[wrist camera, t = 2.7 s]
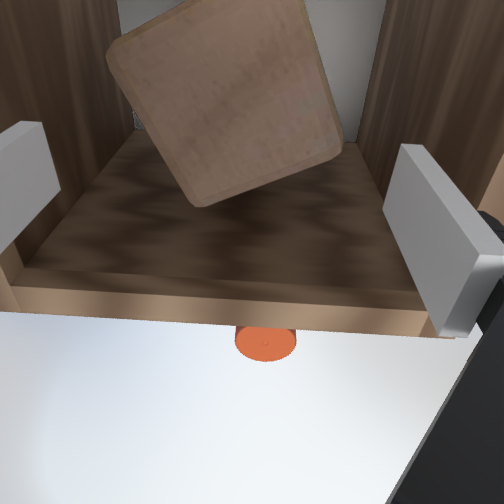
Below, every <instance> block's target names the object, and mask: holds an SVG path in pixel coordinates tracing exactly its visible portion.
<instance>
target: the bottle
mask: <svg viewBox="0 0 504 504" xmlns="http://www.w3.org/2000/svg"><path fill="white" fill-rule="evenodd" d="M235 345H236V346H237V348H238V349H239V351H240V352H241V353H242V354H243V355H245V356H246V357H248V358H251V359H253V360H256V361H263V362H267V361H275V360H279V359H282V358H284V357H286V356H287V355H289V354H290V353H291V352H292V351H293V349H294V348H295V346H296V329H280V328H264V327H247V326H236V333H235Z"/></svg>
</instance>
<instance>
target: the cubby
mask: <svg viewBox="0 0 504 504" xmlns="http://www.w3.org/2000/svg"><path fill="white" fill-rule="evenodd" d="M119 37H121V29H120V22H119V15H118V8H117V1H116V0H0V134H1V133H2V132H4V131H5V130H7V129H9V128H10V127H12V126H13V125H15V124H17V123H18V122H20V121H32V122H42V125H43V129H44V132H45V136H46V139H47V143H48V146H49V150H50V153H51V157H52V160H53V164H54V167H55V171H56V174H57V178H58V181H59V185H60V188H61V190H60V191H59V192H58V193H57V194H56V195H55V196H54V197H53V199H52V200H51V201H50V202H49V203H48V204H47V205H46V206H45V207H44V208H43V209H42V210H41V211H40V212H39V213H38V214H37V216H36V217H35V218H34V219H33V220H32V221H31V222H30V223H29V224H28V225H27V226H26V227H25V228H24V229H23V230H22V232H21V233H20V234H19V235H18V236H17V237H16V238H15V239H14V240H13V241H12V242H11V243H10V244H9V245H8V246H7V247H6V249H5V250H4V251H3V252H2V253H1V254H0V311H3V312H18V313H34V314H52V315H67V316H84V317H100V318H117V319H133V320H149V321H166V322H182V323H183V322H184V323H199V324H216V325H231V326H247V327H264V328H280V329H297V330H313V331H314V330H315V331H329V332H346V333H363V334H379V335H396V336H411V337H412V336H413V337H428V338H445V339H455V337H443V336H438V334H437V332H436V330H435V328H434V325H433V323H432V321H431V319H430V316H429V314H428V312H427V309H426V307H425V305H424V303H423V300H422V298H421V296H420V294H419V291H418V289H417V287H416V285H415V282H414V280H413V278H412V276H411V273H410V271H409V269H408V267H407V264H406V262H405V260H404V257H403V255H402V253H401V251H400V248H399V246H398V244H397V242H396V239H395V237H394V235H393V233H392V230H391V228H390V226H389V224H388V221H387V219H386V217H385V215H384V212H383V210H382V208H383V205H384V201H385V198H386V194H387V191H388V187H389V184H390V180H391V177H392V174H393V170H394V167H395V163H396V160H397V156H398V153H399V149H400V146H401V144H416V145H423V146H424V148H425V149H426V150H427V151H428V152H429V154H430V155H431V156H432V157H433V159H434V160H435V161H436V162H437V163H438V165H439V166H440V167H441V168H442V170H443V171H444V172H445V173H446V174H447V176H448V177H449V178H450V179H451V180H452V182H453V183H454V184H455V185H456V187H457V188H458V189H459V190H460V191H461V193H462V194H463V195H464V196H465V198H466V199H467V200H468V201H469V202H470V204H471V205H472V206H473V207H474V209H475V210H479V211H485V212H486V213H488V214H489V215H491V216H493V217H494V218H496V219H497V220H499V221H500V223H501V224H502V225H503V226H504V0H387V2H386V7H385V11H384V16H383V20H382V25H381V30H380V34H379V39H378V44H377V48H376V53H375V58H374V62H373V67H372V71H371V76H370V81H369V85H368V90H367V95H366V99H365V104H364V109H363V113H362V118H361V122H360V127H359V132H358V136H357V141H356V143H351V142H343V149H342V151H341V153H340V154H338V155H337V156H335V157H334V158H333V159H331V160H328V161H326V162H323V163H320V164H318V165H315V166H312V167H310V168H307V169H304V170H302V171H299V172H296V173H294V174H291V175H288V176H286V177H283V178H280V179H278V180H275V181H272V182H270V183H267V184H264V185H262V186H259V187H256V188H254V189H251V190H248V191H246V192H243V193H240V194H238V195H235V196H232V197H230V198H227V199H224V200H222V201H219V202H216V203H214V204H211V205H208V206H206V207H195V206H194V205H193V204H192V203H190V202H189V200H188V199H187V197H186V195H185V194H184V192H183V190H182V189H181V187H180V185H179V184H178V182H177V181H176V179H175V177H174V176H173V174H172V172H171V171H170V169H169V167H168V166H167V164H166V162H165V161H164V159H163V157H162V156H161V154H160V152H159V151H158V149H157V147H156V146H155V144H154V143H153V141H152V139H151V138H150V136H149V134H148V133H147V131H146V130H135V128H134V121H133V114H132V107H131V105H130V103H129V101H128V100H127V98H126V96H125V95H124V93H123V91H122V90H121V88H120V86H119V85H118V83H117V81H116V80H115V78H114V76H113V75H112V73H111V71H110V69H109V66H108V63H107V59H106V52H107V50H108V49H109V47H110V46H111V44H112V43H113V41H114V40H116V39H117V38H119Z"/></svg>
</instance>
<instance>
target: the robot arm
mask: <svg viewBox="0 0 504 504" xmlns="http://www.w3.org/2000/svg"><path fill="white" fill-rule="evenodd" d="M60 190H61V188H60V185H59V181H58V178H57V174H56V171H55V167H54V164H53V160H52V157H51V153H50V150H49V146H48V143H47V139H46V136H45V132H44V129H43V125H42V122H32V121H20V122H18V123H17V124H15V125H13V126H12V127H10V128H9V129H7V130H5V131H4V132H2V133H1V134H0V254H1V253H2V252H3V251H4V250H5V249H6V247H7V246H8V245H9V244H10V243H11V242H12V241H13V240H14V239H15V238H16V237H17V236H18V235H19V234H20V233H21V232H22V230H23V229H24V228H25V227H26V226H27V225H28V224H29V223H30V222H31V221H32V220H33V219H34V218H35V217H36V216H37V214H38V213H39V212H40V211H41V210H42V209H43V208H44V207H45V206H46V205H47V204H48V203H49V202H50V201H51V200H52V199H53V197H54V196H55V195H56V194H57V193H58V192H59V191H60ZM382 210H383V212H384V215H385V217H386V219H387V221H388V224H389V226H390V228H391V230H392V233H393V235H394V237H395V239H396V242H397V244H398V246H399V248H400V251H401V253H402V255H403V257H404V260H405V262H406V264H407V267H408V269H409V271H410V273H411V276H412V278H413V280H414V282H415V285H416V287H417V289H418V291H419V294H420V296H421V298H422V300H423V303H424V305H425V307H426V309H427V312H428V314H429V316H430V319H431V321H432V323H433V325H434V328H435V330H436V332H437V334H438V336H443V337H459V338H467V337H468V335H469V334H470V332H471V330H472V329H473V327H474V325H475V323H476V322H477V324H478V325H479V327H480V329H481V331H482V332H483V335H482V337H481V339H480V340H479V342H478V344H477V345H476V347H475V348H474V350H473V352H472V354H471V355H470V357H469V358H468V360H467V363H466V364H465V366H464V368H463V370H462V371H461V373H460V375H459V377H458V378H457V380H456V382H455V383H454V385H453V387H452V389H451V390H450V392H449V394H448V396H447V398H446V399H445V401H444V403H443V404H442V406H441V408H440V410H439V411H438V413H437V415H436V416H435V418H434V420H433V422H432V423H431V425H430V427H429V429H428V430H427V432H426V434H425V436H424V437H423V439H422V441H421V442H420V444H419V446H418V448H417V449H416V451H415V453H414V455H413V456H412V458H411V460H410V462H409V463H408V465H407V467H406V468H405V470H404V472H403V474H402V475H401V477H400V479H399V481H398V482H397V484H396V486H395V488H394V489H393V491H392V493H391V494H390V496H389V498H388V500H387V502H386V503H385V504H504V226H503V225H502V224H501V223H500V221H499V220H497V219H496V218H494V217H493V216H491V215H489V214H488V213H486V212H485V211H479V210H475V209H474V207H473V206H472V205H471V204H470V202H469V201H468V200H467V199H466V198H465V196H464V195H463V194H462V193H461V191H460V190H459V189H458V188H457V187H456V185H455V184H454V183H453V182H452V180H451V179H450V178H449V177H448V176H447V174H446V173H445V172H444V171H443V170H442V168H441V167H440V166H439V165H438V163H437V162H436V161H435V160H434V159H433V157H432V156H431V155H430V154H429V152H428V151H427V150H426V149H425V148H424V146H423V145H416V144H401V146H400V149H399V153H398V156H397V160H396V163H395V167H394V170H393V174H392V177H391V180H390V184H389V187H388V191H387V194H386V198H385V201H384V205H383V208H382Z"/></svg>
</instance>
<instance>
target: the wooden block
mask: <svg viewBox="0 0 504 504" xmlns="http://www.w3.org/2000/svg"><path fill="white" fill-rule="evenodd" d="M106 59H107V63H108V66H109V69H110V71H111V73H112V75H113V76H114V78H115V80H116V81H117V83H118V85H119V86H120V88H121V90H122V91H123V93H124V95H125V96H126V98H127V100H128V101H129V103H130V105H131V106H132V108H133V109H134V111H135V113H136V114H137V116H138V118H139V119H140V121H141V123H142V124H143V126H144V128H145V129H146V131H147V133H148V134H149V136H150V138H151V139H152V141H153V143H154V144H155V146H156V147H157V149H158V151H159V152H160V154H161V156H162V157H163V159H164V161H165V162H166V164H167V166H168V167H169V169H170V171H171V172H172V174H173V176H174V177H175V179H176V181H177V182H178V184H179V185H180V187H181V189H182V190H183V192H184V194H185V195H186V197H187V199H188V200H189V202H190V203H192V204H193V205H194V206H195V207H206V206H208V205H211V204H214V203H216V202H219V201H222V200H224V199H227V198H230V197H232V196H235V195H238V194H240V193H243V192H246V191H248V190H251V189H254V188H256V187H259V186H262V185H264V184H267V183H270V182H272V181H275V180H278V179H280V178H283V177H286V176H288V175H291V174H294V173H296V172H299V171H302V170H304V169H307V168H310V167H312V166H315V165H318V164H320V163H323V162H326V161H328V160H331V159H333V158H334V157H335V156H337V155H338V154H340V153H341V151H342V149H343V141H344V134H343V131H342V128H341V124H340V121H339V118H338V114H337V111H336V108H335V104H334V101H333V98H332V95H331V91H330V88H329V85H328V81H327V78H326V75H325V71H324V68H323V65H322V61H321V58H320V55H319V51H318V48H317V45H316V41H315V38H314V35H313V32H312V28H311V25H310V22H309V18H308V15H307V12H306V8H305V5H304V2H303V0H187V1H185V2H183V3H181V4H179V5H177V6H176V7H174V8H172V9H170V10H168V11H167V12H165V13H163V14H161V15H159V16H157V17H156V18H154V19H152V20H150V21H148V22H147V23H145V24H143V25H141V26H139V27H137V28H136V29H134V30H132V31H130V32H128V33H127V34H125V35H123V36H121V37H119V38H117V39H116V40H114V41H113V43H112V44H111V46H110V47H109V49H108V50H107V52H106Z"/></svg>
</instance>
